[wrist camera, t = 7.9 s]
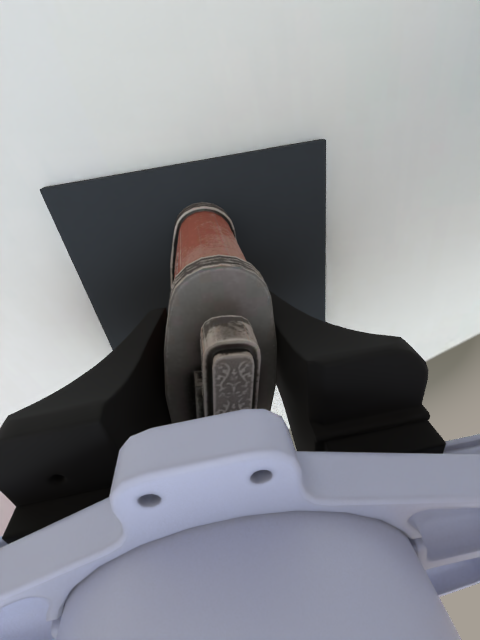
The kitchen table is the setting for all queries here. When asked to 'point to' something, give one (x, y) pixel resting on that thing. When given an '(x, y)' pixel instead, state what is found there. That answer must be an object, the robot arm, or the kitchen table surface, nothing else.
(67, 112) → the kitchen table surface
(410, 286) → the kitchen table surface
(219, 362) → the lighter
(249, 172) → the mat
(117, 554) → the robot arm
